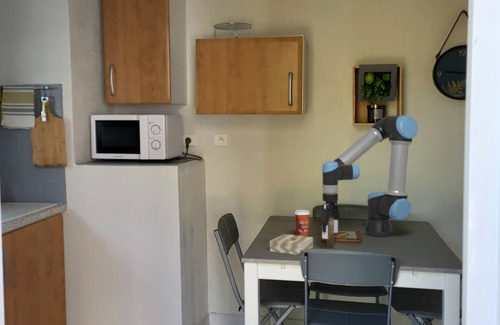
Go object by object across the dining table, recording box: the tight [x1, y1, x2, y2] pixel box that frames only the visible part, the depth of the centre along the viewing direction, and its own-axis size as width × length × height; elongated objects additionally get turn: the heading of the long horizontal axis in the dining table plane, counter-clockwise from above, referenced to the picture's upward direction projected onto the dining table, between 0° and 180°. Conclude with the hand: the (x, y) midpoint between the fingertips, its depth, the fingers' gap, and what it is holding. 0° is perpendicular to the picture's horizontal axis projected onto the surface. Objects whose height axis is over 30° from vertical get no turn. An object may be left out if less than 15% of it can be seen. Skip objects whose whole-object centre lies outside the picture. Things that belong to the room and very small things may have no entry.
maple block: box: [269, 233, 314, 256], centre depth 245 cm, size 16×16×5 cm
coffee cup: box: [294, 209, 311, 237], centre depth 266 cm, size 8×8×15 cm
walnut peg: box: [326, 216, 335, 249], centre depth 246 cm, size 4×4×15 cm
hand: (330, 235), depth 246 cm, fingers open, 13 cm apart
